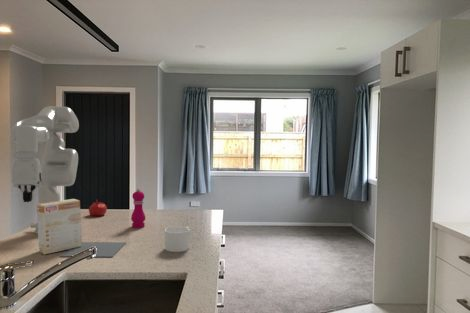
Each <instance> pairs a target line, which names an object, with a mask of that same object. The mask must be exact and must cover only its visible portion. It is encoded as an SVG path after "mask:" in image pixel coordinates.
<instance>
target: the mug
mask: <svg viewBox="0 0 470 313" xmlns="http://www.w3.org/2000/svg"><path fill="white" fill-rule="evenodd" d="M190 234H191V227H190V226H171V227H166V228H165V229H164V247H165V248H164V250H165V251H167V252H170V253H171V252H172V253H180V252H181V253H183V252H186V251H188V250H189V249H190Z"/></svg>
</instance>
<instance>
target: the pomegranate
mask: <svg viewBox="0 0 470 313" xmlns="http://www.w3.org/2000/svg"><path fill="white" fill-rule="evenodd" d="M95 200H96V202H92V204H91V205H90V206H89V207H88V212H89V215H90V216H91V217H102V216H104V215H105V214H106V213H107V212H108V211H107V210H108V207H107V205H106V204H105V203H103V202H102V201H100V202H98V201H99V200H98V199H95Z"/></svg>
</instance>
